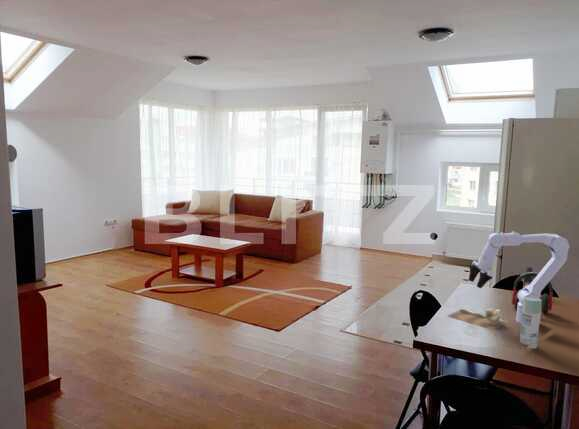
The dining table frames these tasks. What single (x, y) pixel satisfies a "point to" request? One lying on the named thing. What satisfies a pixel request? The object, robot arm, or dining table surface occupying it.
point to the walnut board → (474, 318)
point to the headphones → (545, 299)
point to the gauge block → (492, 316)
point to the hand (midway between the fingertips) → (474, 284)
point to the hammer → (528, 278)
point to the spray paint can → (530, 321)
